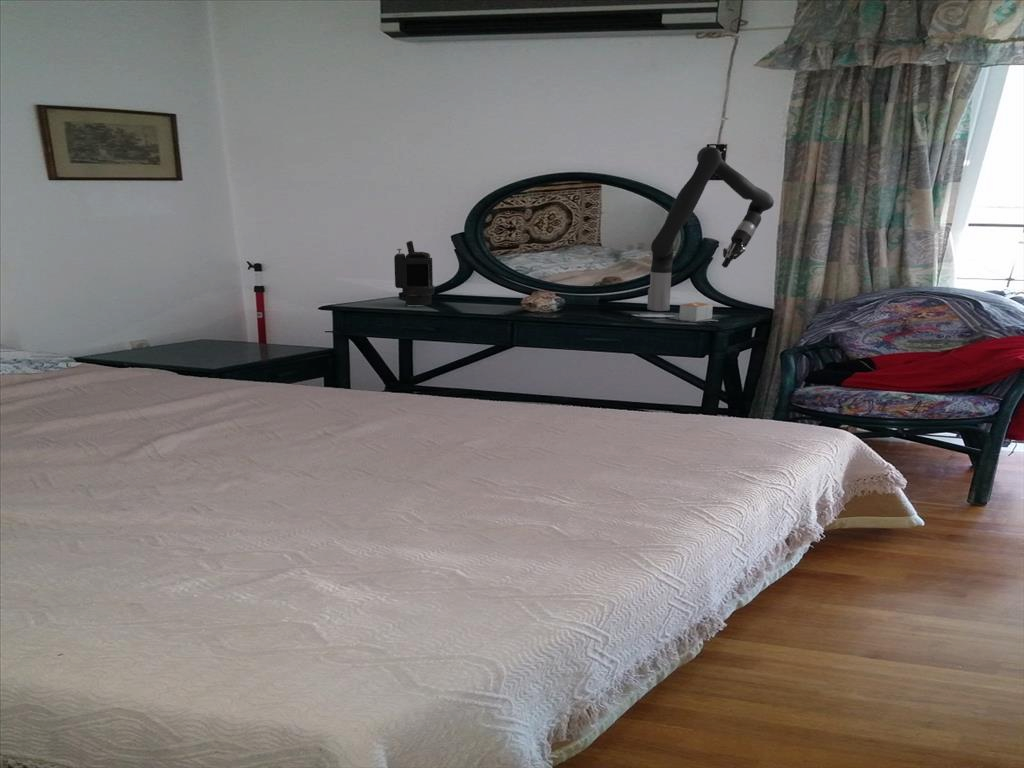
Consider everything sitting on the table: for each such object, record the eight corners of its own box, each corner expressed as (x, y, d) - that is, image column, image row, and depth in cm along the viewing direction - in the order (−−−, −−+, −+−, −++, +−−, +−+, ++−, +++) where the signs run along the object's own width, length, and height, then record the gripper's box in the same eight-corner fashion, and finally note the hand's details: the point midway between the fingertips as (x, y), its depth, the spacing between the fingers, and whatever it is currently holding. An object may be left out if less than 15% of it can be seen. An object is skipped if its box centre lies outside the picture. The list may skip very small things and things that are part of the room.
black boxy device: (434, 307, 345) (432, 241, 339) (395, 307, 344) (393, 241, 337) (435, 303, 360) (434, 240, 353) (398, 303, 359) (396, 240, 352)
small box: (713, 303, 311) (697, 306, 301) (712, 318, 312) (696, 321, 303) (695, 301, 316) (679, 304, 307) (694, 316, 318) (678, 319, 308)
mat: (664, 318, 314) (664, 317, 314) (683, 316, 321) (683, 315, 321) (699, 323, 300) (699, 322, 300) (718, 321, 308) (718, 320, 308)
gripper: (728, 230, 329) (708, 262, 327) (748, 227, 317) (728, 260, 315) (739, 240, 332) (720, 272, 330) (759, 237, 320) (739, 271, 318)
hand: (724, 266), depth 322 cm, fingers closed
